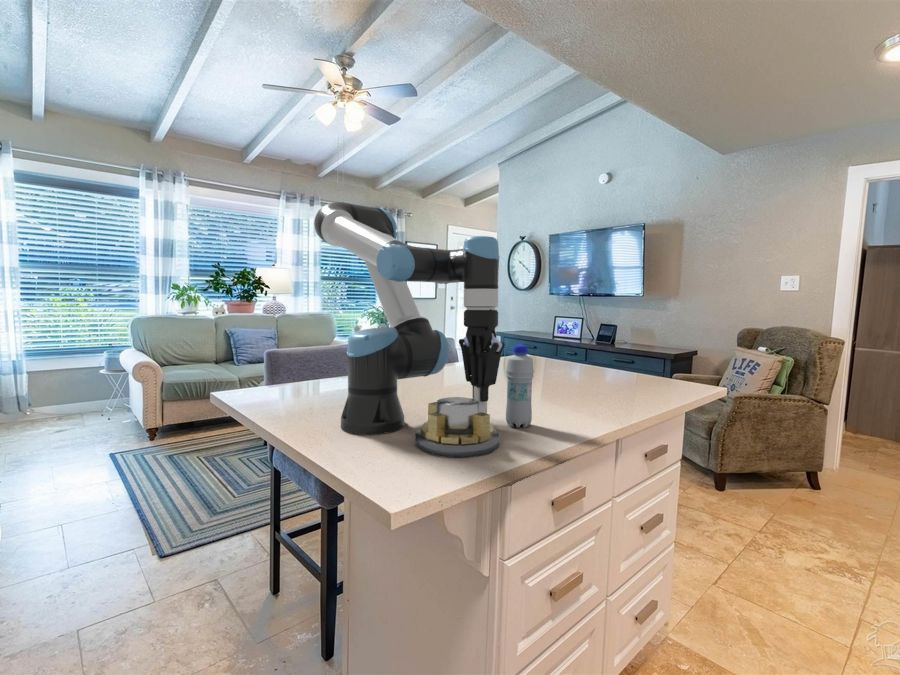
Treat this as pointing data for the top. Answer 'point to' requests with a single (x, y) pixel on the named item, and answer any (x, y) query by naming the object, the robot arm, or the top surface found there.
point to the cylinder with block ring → (436, 432)
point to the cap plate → (456, 447)
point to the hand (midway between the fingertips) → (480, 414)
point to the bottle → (519, 387)
